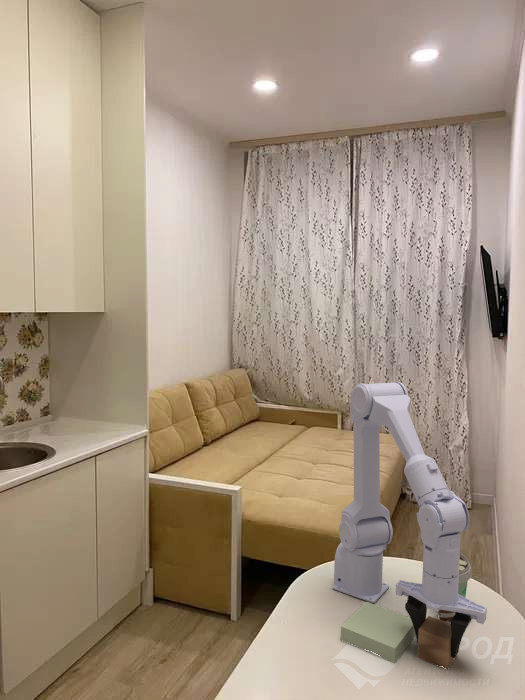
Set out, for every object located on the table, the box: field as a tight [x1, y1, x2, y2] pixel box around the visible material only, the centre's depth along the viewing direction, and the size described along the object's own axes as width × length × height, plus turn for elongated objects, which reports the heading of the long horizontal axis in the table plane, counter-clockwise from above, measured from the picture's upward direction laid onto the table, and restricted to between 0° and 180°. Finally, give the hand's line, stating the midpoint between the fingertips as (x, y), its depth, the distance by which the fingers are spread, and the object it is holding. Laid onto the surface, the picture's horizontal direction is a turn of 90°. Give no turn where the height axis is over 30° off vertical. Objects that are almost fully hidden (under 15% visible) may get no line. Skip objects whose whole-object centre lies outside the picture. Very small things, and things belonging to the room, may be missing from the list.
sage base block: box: [340, 601, 416, 664], centre depth 94 cm, size 10×10×3 cm
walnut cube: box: [417, 615, 455, 671], centre depth 89 cm, size 5×5×5 cm
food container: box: [437, 552, 473, 622], centre depth 103 cm, size 12×6×10 cm, turn 168°
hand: (437, 647), depth 89 cm, fingers closed on walnut cube, 5 cm apart
